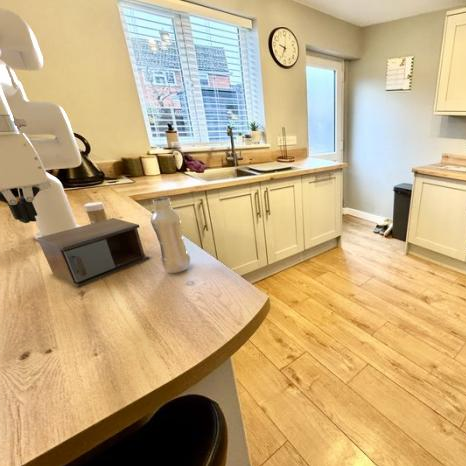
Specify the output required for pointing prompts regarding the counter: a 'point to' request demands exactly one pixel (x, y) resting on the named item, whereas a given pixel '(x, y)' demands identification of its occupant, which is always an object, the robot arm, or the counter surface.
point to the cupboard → (113, 230)
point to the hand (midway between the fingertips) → (28, 221)
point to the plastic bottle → (169, 236)
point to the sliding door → (89, 260)
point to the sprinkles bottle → (95, 212)
